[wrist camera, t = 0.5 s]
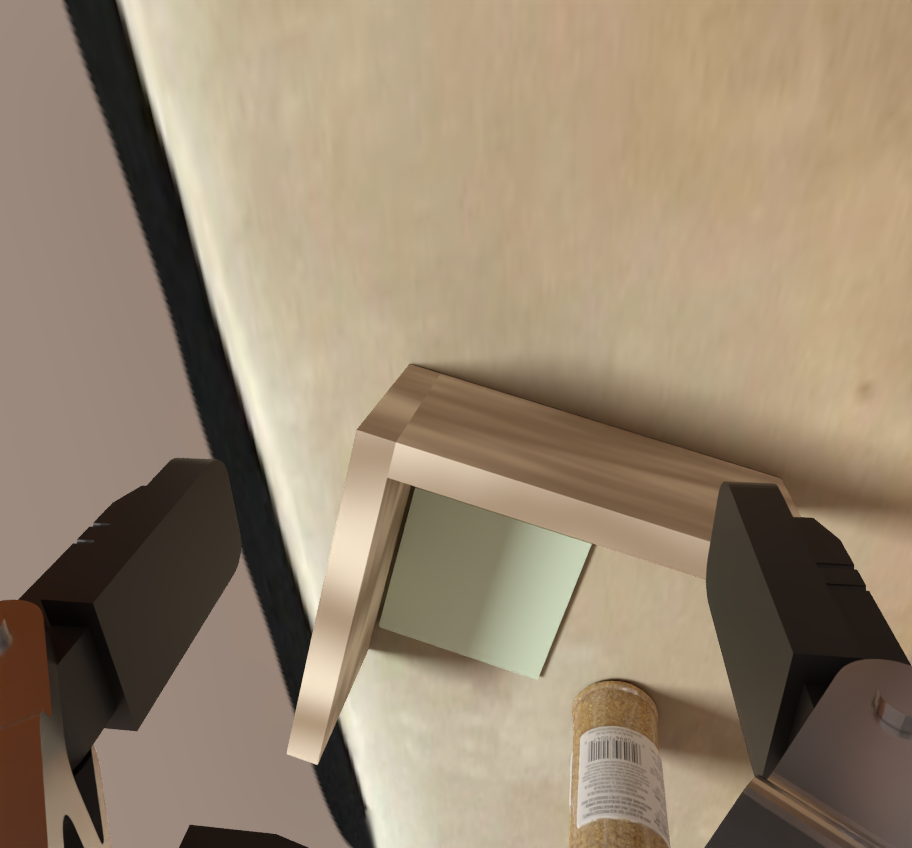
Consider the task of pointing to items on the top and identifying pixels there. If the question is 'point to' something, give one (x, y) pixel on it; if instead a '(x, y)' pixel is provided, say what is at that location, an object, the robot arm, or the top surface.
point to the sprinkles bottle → (616, 770)
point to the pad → (481, 583)
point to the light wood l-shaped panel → (494, 505)
